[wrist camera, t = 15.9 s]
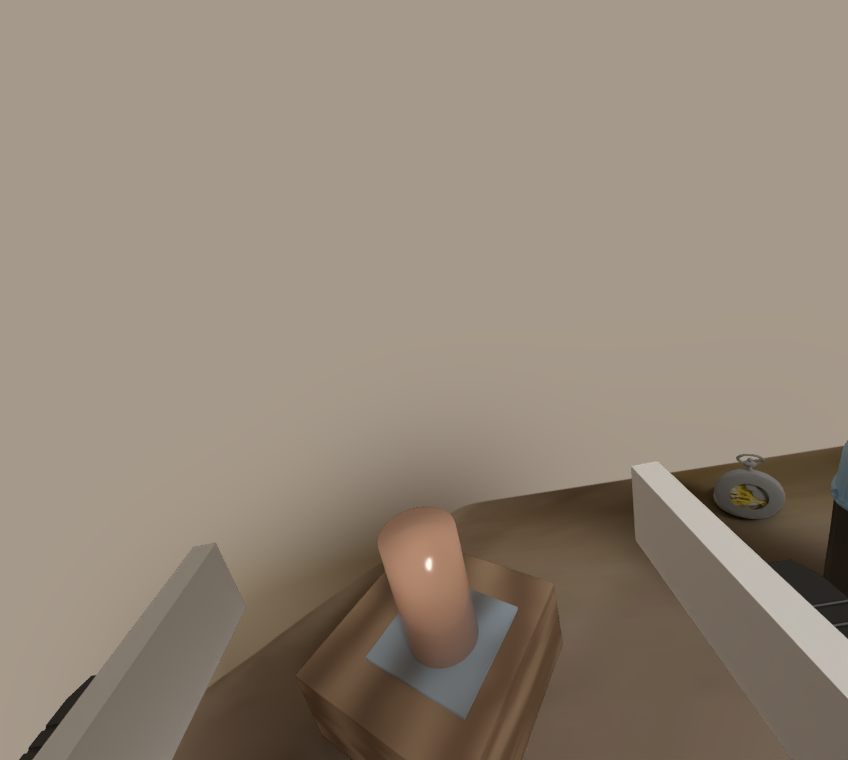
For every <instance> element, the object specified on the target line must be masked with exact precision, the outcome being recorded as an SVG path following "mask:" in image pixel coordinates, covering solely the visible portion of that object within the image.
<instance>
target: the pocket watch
mask: <svg viewBox="0 0 848 760" xmlns="http://www.w3.org/2000/svg"><path fill="white" fill-rule="evenodd" d="M742 456H755V457H758V458H760V459H761V460H762V461H760V462H758V463H756V462H754V461H753V459H751V458H748V459H747V461H741V460H740V459H739V458H740V457H742ZM736 458H737V460H738V461H739V462H741V463H743V464H744V465H745V466H747V469H737V470H732V471H729V472H727V473H724V474H723V475H722V476H720V477H719V478H718V479H717V481H716V483H715V487H714V494H713V497H714V501H715V503H716V504H717V505H718V506H719V507H720V508H721V509H722V510H724V511H726V512H728V513H730V514H732V515H735V516H738V517H742V518H746V519H764V518H769V517H771V516H773V515H775V514H776V513H777V512H779V511H780V510H781V509H782V507H783V505H784V502H785V493H784V490H783V488H782V486H781V484H780V483H779V482H778V481H777V480H775V479H774V478H773V477H771V476H770V475H768V474H766V473H763V472H760V471H757V470H753V469H752V467H754V466H756V465H757V464H762V463H763V462H765V459H764V458H763V457H761V456H758V455H753V454H742V455H739V456H737V457H736Z"/></svg>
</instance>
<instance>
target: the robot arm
mask: <svg viewBox="0 0 848 760" xmlns="http://www.w3.org/2000/svg"><path fill="white" fill-rule="evenodd" d="M631 471H632V489H633V507H634V524H635V540H636V542H637V543H638V544H639V546H640V547H641V549H642V550H643V551H644V553H645V554H646V556H647V557H648V558H649V560H650V561H651V563H652V564H653V565H654V567H655V568H656V570H657V571H658V572H659V574H660V575H661V577H662V578H663V579H664V581H665V582H666V584H667V585H668V586H669V588H670V589H671V591H672V592H673V593H674V595H675V596H676V598H677V599H678V600H679V602H680V603H681V605H682V606H683V607H684V609H685V610H686V612H687V613H688V614H689V616H690V617H691V619H692V620H693V621H694V623H695V624H696V626H697V627H698V628H699V630H700V631H701V633H702V634H703V635H704V637H705V638H706V640H707V641H708V642H709V644H710V645H711V647H712V648H713V649H714V651H715V652H716V654H717V655H718V656H719V658H720V659H721V661H722V662H723V663H724V665H725V666H726V668H727V669H728V670H729V672H730V673H731V675H732V676H733V677H734V679H735V680H736V682H737V683H738V684H739V686H740V687H741V689H742V690H743V691H744V693H745V694H746V696H747V697H748V698H749V700H750V701H751V703H752V704H753V706H754V707H755V708H756V710H757V711H758V713H759V714H760V715H761V717H762V718H763V720H764V721H765V722H766V724H767V725H768V727H769V728H770V729H771V731H772V732H773V734H774V735H775V736H776V738H777V739H778V741H779V742H780V743H781V745H782V746H783V748H784V749H785V750H786V752H787V753H788V755H789V756H790V757H791V759H792V760H848V441H847V442H846V444H845V446H844V448H843V452H842V456H841V460H840V465H839V469H838V473H837V474H836V476H835V477H834V479H833V481H832V484H831V493H832V494H833V497H834V503H833V511H832V519H831V526H830V534H829V540H828V547H827V553H826V559H825V566H824V575H823V576H821V575H819V574H817V573H815V572H813V571H811V570H810V569H808V568H806V567H804V566H802V565H800V564H798V563H796V562H794V561H793V560H791V559H790V560H784V561H778V562H772V563H766V562H765V561H764V560H763V559H761V558H760V557H759V556H758V555H757V554H756V553H755V552H754V551H753V550H752V549H751V548H750V547H749V546H748V545H747V544H745V543H744V542H743V541H742V540H741V539H740V538H739V537H738V536H737V535H736V534H735V533H734V532H733V531H732V530H730V529H729V528H728V527H727V526H726V525H725V524H724V523H723V522H722V521H721V520H720V519H719V518H718V517H717V516H715V515H714V514H713V513H712V512H711V511H710V510H709V509H708V508H707V507H706V506H705V505H704V504H703V503H702V502H700V501H699V500H698V499H697V498H696V497H695V496H694V495H693V494H692V493H691V492H690V491H689V490H688V489H687V488H685V487H684V486H683V485H682V484H681V483H680V482H679V481H678V480H677V479H676V478H675V477H674V476H673V475H672V474H670V473H669V472H668V471H667V470H666V469H665V468H664V467H663V466H662V465H661V464H660V463H659V462H657V461H656V462H651V463H645V464H640V465H635V466H631ZM245 608H246V605H245V603H244V601H243V599H242V597H241V595H240V593H239V591H238V589H237V586H236V584H235V582H234V580H233V578H232V576H231V574H230V572H229V570H228V567H227V565H226V563H225V561H224V559H223V557H222V555H221V553H220V551H219V548H218V547H217V544H216V543H212V544H206V545H201V546H196V547H193V548H192V550H191V551H190V552H189V553H188V555H187V556H186V557H185V559H184V560H183V561H182V563H181V564H180V565H179V567H178V568H177V569H176V571H175V572H174V573H173V575H172V576H171V577H170V578H169V580H168V581H167V582H166V584H165V585H164V587H163V588H162V589H161V590H160V592H159V593H158V594H157V596H156V597H155V598H154V600H153V601H152V602H151V604H150V605H149V606H148V608H147V609H146V610H145V612H144V613H143V614H142V616H141V617H140V618H139V620H138V621H137V622H136V624H135V625H134V626H133V627H132V629H131V630H130V631H129V633H128V634H127V635H126V637H125V638H124V640H123V641H122V642H121V643H120V645H119V646H118V647H117V649H116V650H115V652H114V653H113V654H112V655H111V657H110V658H109V659H108V661H107V662H106V663H105V665H104V666H103V667H102V669H101V670H100V671H99V673H98V674H97V675H95V676H91V677H90V678H89V679H88V680H87V681H86V682H84V683H83V684H82V685H81V686H80V687H79V688H78V689H77V690H76V691H75V692H74V693H73V694H72V695H71V696H70V697H68V699H67V700H66V701H65V702H64V703H63V705H62V706H61V707H60V708H59V710H58V711H57V712H56V713H55V715H54V716H53V717H52V719H51V720H50V721H49V722H48V724H47V725H46V729H45V730H44V731H41V733H40V734H39V735H38V737H37V738H36V739H35V740H34V742H33V743H32V744H31V746H30V747H29V751H28V752H27V753H26V754H23V756H22V757H21V758H20V759H19V760H172V759H173V757H174V755H175V753H176V751H177V748H178V746H179V744H180V742H181V740H182V738H183V736H184V734H185V732H186V730H187V728H188V726H189V724H190V722H191V720H192V718H193V716H194V713H195V711H196V709H197V707H198V705H199V703H200V701H201V699H202V697H203V695H204V693H205V691H206V689H207V687H208V685H209V683H210V681H211V678H212V676H213V674H214V672H215V670H216V668H217V666H218V664H219V662H220V660H221V658H222V655H223V654H224V651H225V650H226V648H227V646H228V643H229V641H230V639H231V637H232V635H233V633H234V631H235V629H236V627H237V625H238V623H239V621H240V619H241V616H242V615H243V613H244V611H245Z"/></svg>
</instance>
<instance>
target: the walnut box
mask: <svg viewBox="0 0 848 760" xmlns="http://www.w3.org/2000/svg"><path fill="white" fill-rule="evenodd" d="M462 555H463V560H464V564H465V568H466V573H467V577H468V582H469V586H470V591H471V595H472V599H473V604H474V608H475V613H476V617H477V621H478V627H479V635H478V640H477V643H476V645H475V647H474V649H473V651H472V652H471V653H470V654H469V656H468V657H467V658H465V659H464V660H463V661H462V662H460V663H458V664H457V665H454V666H452V667H448V668H442V669H436V668H430V667H427V666H425V665H423V664H421V663H420V662H418V661H417V660H416V659H415V658H414V656H413V655H412V653H411V651H410V649H409V646H408V643H407V639H406V636H405V633H404V630H403V626H402V623H401V620H400V617H399V613H398V610H397V607H396V604H395V601H394V597H393V594H392V591H391V588H390V584H389V581H388V578H387V575H386V572H384V573H383V574H382V575H381V576H380V577H379V578H378V580H377V581H376V582H375V583H374V584H373V585H372V587H371V588H370V589H369V590H368V591H367V592H366V594H365V595H364V596H363V597H362V598H361V599H360V601H359V602H358V603H357V604H356V605H355V606H354V608H353V609H352V610H351V611H350V612H349V613H348V614H347V616H346V617H345V618H344V619H343V620H342V621H341V623H340V624H339V625H338V626H337V627H336V628H335V630H334V631H333V632H332V633H331V634H330V635H329V637H328V638H327V639H326V640H325V641H324V642H323V643H322V645H321V646H320V647H319V648H318V649H317V650H316V652H315V653H314V654H313V655H312V656H311V657H310V659H309V660H308V661H307V662H306V663H305V664H304V666H303V667H302V668H301V669H300V670H299V671H298V672H297V674H296V675H295V677H296V679H297V681H298V683H299V686H300V688H301V690H302V692H303V694H304V697H305V699H306V701H307V703H308V705H309V708H310V710H311V712H312V714H313V716H314V719H315V721H316V723H317V725H318V727H319V730H320V732H321V734H322V735H323V736H324V737H325V738H327V739H328V740H329V741H330V742H331V743H332V744H334V745H335V746H336V747H337V748H338V749H340V750H341V751H342V752H343V753H344V754H345V755H347V756H348V757H349V758H350V759H351V760H522V757H523V754H524V752H525V749H526V746H527V743H528V740H529V737H530V735H531V732H532V729H533V726H534V723H535V720H536V718H537V715H538V712H539V709H540V706H541V703H542V700H543V698H544V695H545V692H546V689H547V686H548V683H549V681H550V678H551V675H552V672H553V669H554V666H555V664H556V661H557V658H558V655H559V652H560V649H561V646H562V644H563V643H562V636H561V629H560V622H559V615H558V608H557V601H556V594H555V587H554V583H551V582H548V581H545V580H542V579H539V578H536V577H533V576H530V575H527V574H524V573H521V572H518V571H515V570H511V569H508V568H505V567H502V566H499V565H496V564H493V563H490V562H487V561H484V560H481V559H478V558H475V557H472V556H468V555H465V554H462Z"/></svg>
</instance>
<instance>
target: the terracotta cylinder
mask: <svg viewBox="0 0 848 760" xmlns="http://www.w3.org/2000/svg"><path fill="white" fill-rule="evenodd" d="M377 544H378V548H379V552H380V555H381V559H382V562H383V565H384V568H385V572H386V575H387V578H388V581H389V584H390V588H391V591H392V594H393V597H394V601H395V604H396V607H397V610H398V613H399V617H400V620H401V623H402V626H403V630H404V633H405V636H406V639H407V643H408V646H409V649H410V651H411V653H412V655H413V656H414V658H415V659H416V660H417V661H418V662H420V663H421V664H423V665H425V666H427V667H430V668H436V669H442V668H448V667H452V666H454V665H457V664H458V663H460V662H462V661H463V660H464V659H465V658H467V657H468V656H469V654H470V653H471V652H472V651H473V649H474V647H475V645H476V643H477V640H478V635H479V627H478V621H477V617H476V613H475V608H474V604H473V599H472V595H471V591H470V586H469V582H468V577H467V573H466V568H465V564H464V560H463V555H462V551H461V546H460V542H459V537H458V533H457V529H456V524H455V521H454V519H453V517H452V516H451V515H450V514H449V513H448V512H446V511H444V510H442V509H439V508H435V507H417V508H413V509H409V510H406V511H404V512H402V513H400V514H398V515H396V516H395V517H393V518H392V519H391V520H389V521H388V522H387V523H386V524H385V525H384V527H383V528H382V530H381V531H380V533H379V536H378V541H377Z"/></svg>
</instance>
